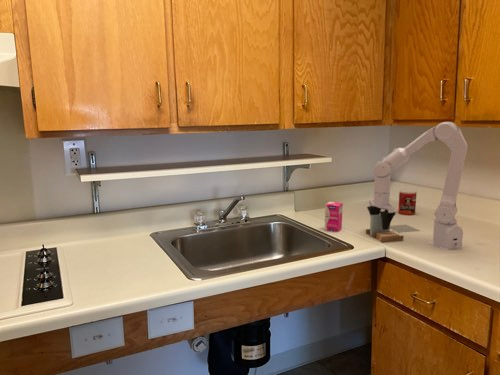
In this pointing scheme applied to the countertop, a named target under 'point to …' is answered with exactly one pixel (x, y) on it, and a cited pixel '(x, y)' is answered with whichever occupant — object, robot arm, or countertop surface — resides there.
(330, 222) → the supplement box
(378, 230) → the grey square slab
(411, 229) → the rubber mat
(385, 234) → the upper offcut
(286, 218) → the countertop surface
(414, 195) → the canned food
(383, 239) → the walnut rack
